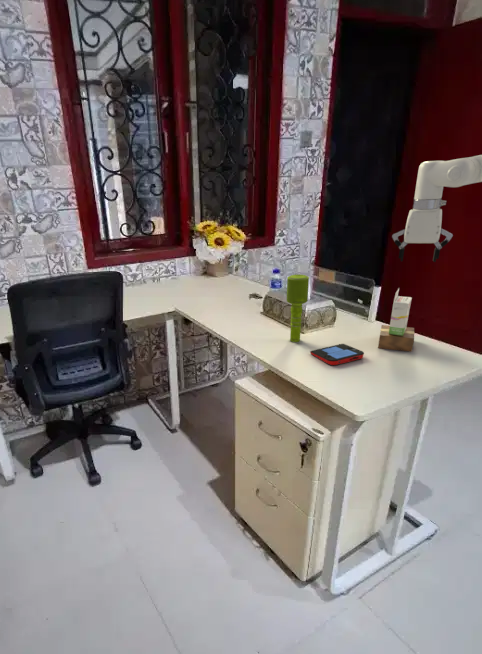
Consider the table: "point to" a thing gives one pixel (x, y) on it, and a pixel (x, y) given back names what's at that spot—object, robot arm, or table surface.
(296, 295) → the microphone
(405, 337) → the cardboard box
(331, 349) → the game console
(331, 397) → the table surface
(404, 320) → the ink box
